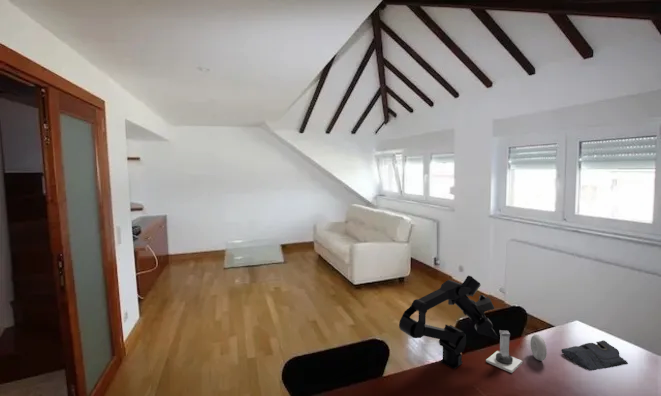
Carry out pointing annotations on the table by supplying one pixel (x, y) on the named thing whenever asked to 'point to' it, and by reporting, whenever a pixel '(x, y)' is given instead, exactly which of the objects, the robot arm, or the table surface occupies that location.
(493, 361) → the ceramic tile
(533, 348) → the donut
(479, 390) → the table surface
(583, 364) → the folded grey shirt
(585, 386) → the table surface
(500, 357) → the grey channel block
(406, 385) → the table surface
